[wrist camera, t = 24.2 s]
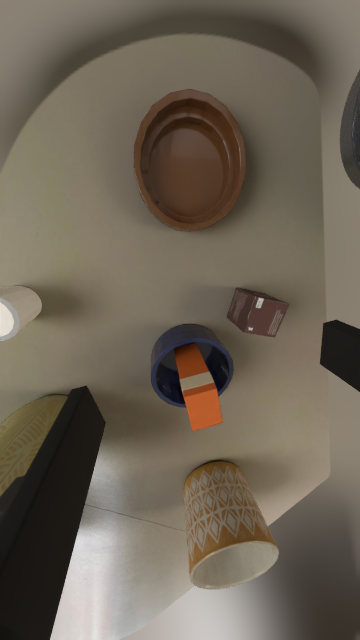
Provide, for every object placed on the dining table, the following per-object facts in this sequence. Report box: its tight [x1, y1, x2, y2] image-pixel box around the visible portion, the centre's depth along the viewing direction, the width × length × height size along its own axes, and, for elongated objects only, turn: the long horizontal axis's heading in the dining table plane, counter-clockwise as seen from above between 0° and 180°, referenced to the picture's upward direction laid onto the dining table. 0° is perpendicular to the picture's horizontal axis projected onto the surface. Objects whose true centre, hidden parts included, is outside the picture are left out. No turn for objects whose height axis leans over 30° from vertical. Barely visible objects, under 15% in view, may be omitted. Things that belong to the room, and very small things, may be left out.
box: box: [227, 288, 289, 337], centre depth 33 cm, size 6×6×7 cm
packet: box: [174, 343, 223, 431], centre depth 32 cm, size 5×7×13 cm
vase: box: [0, 395, 68, 496], centre depth 28 cm, size 17×17×27 cm
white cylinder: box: [0, 286, 42, 341], centre depth 28 cm, size 7×7×7 cm
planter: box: [184, 461, 279, 589], centre depth 47 cm, size 19×19×16 cm
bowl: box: [134, 89, 246, 232], centre depth 26 cm, size 15×15×4 cm
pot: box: [151, 324, 234, 407], centre depth 36 cm, size 15×15×6 cm
